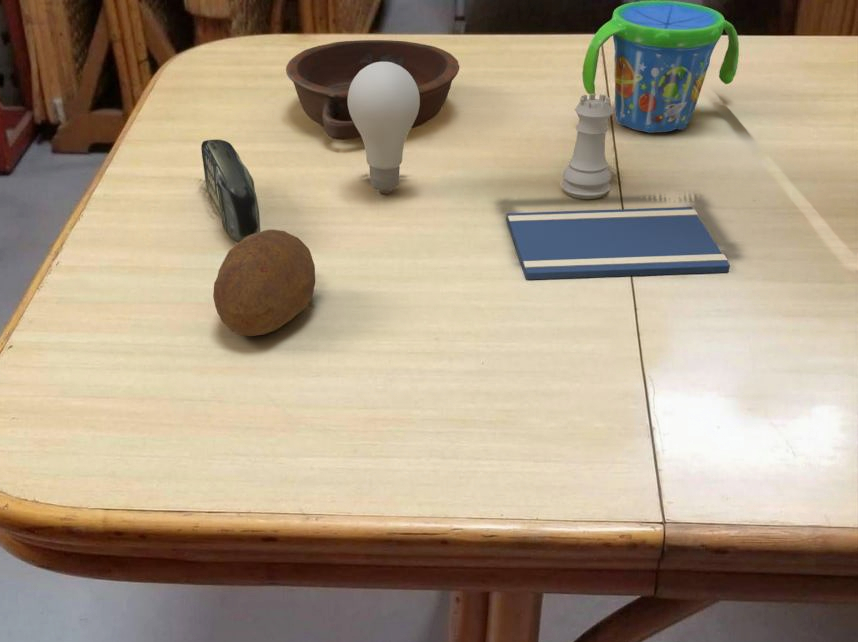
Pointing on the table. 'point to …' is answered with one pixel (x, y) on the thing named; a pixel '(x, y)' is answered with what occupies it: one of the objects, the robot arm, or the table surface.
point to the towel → (614, 243)
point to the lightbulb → (383, 118)
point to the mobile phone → (231, 188)
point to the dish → (341, 61)
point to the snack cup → (661, 61)
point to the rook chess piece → (589, 151)
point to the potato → (264, 282)
